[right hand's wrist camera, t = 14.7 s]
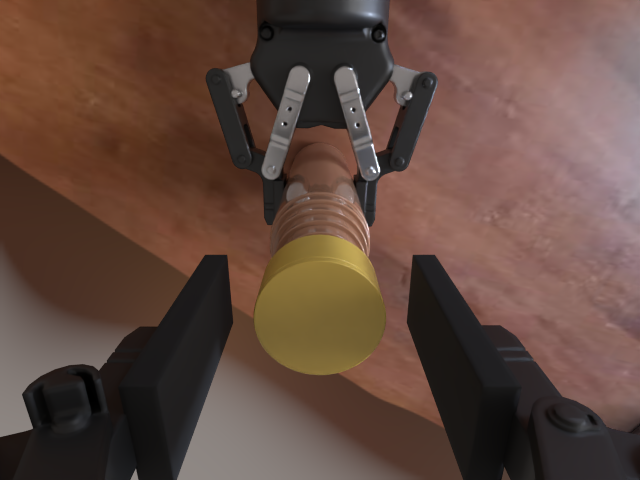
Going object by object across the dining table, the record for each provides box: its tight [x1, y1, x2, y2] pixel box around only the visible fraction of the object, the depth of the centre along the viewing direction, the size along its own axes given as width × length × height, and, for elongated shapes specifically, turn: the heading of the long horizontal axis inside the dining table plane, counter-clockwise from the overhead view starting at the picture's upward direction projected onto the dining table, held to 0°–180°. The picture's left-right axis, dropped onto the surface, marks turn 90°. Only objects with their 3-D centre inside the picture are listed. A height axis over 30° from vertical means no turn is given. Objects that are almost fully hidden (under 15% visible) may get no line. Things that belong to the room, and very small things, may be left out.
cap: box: [254, 235, 386, 375], centre depth 14 cm, size 4×4×2 cm
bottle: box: [270, 143, 370, 257], centre depth 23 cm, size 5×5×22 cm
